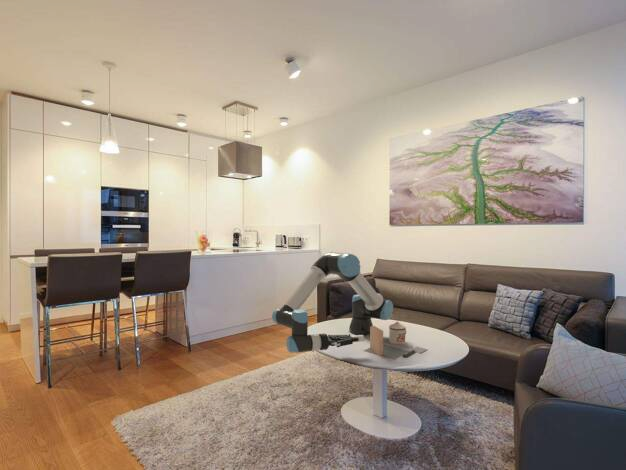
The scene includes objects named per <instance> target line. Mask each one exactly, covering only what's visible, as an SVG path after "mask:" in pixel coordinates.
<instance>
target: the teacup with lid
mask: <svg viewBox="0 0 626 470" xmlns="http://www.w3.org/2000/svg"><path fill="white" fill-rule="evenodd" d="M388 328H389V335H388V340H389V343H391V344H394V345H405V344H406V335H407V329H406V326H405V325H404V324H401V323H400V322H399V321H395V323H392V324H389V326H388Z"/></svg>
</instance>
